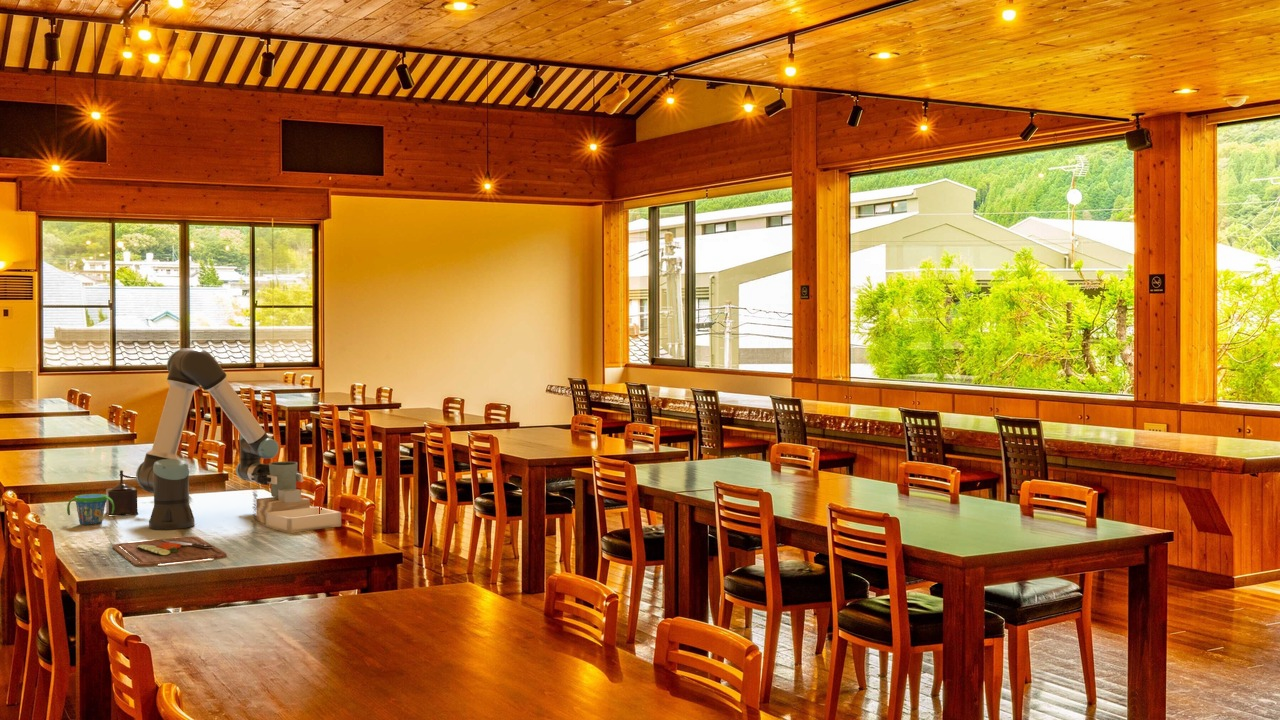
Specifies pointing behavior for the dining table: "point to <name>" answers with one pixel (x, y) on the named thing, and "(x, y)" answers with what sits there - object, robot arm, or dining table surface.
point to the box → (303, 519)
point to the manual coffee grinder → (122, 498)
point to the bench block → (277, 506)
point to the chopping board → (169, 551)
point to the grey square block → (289, 495)
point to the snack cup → (90, 508)
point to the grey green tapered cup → (283, 476)
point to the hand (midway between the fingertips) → (289, 479)
